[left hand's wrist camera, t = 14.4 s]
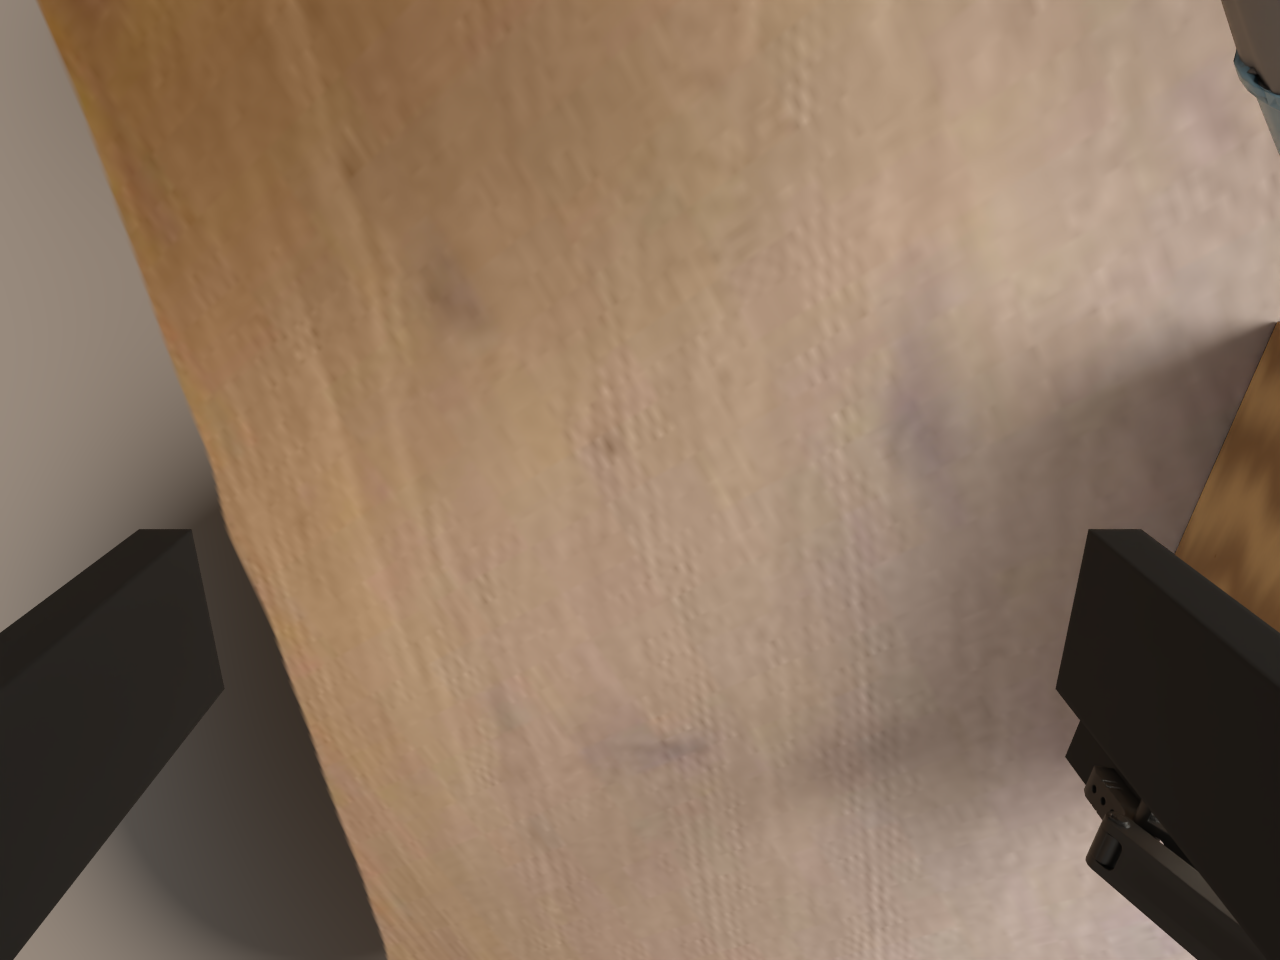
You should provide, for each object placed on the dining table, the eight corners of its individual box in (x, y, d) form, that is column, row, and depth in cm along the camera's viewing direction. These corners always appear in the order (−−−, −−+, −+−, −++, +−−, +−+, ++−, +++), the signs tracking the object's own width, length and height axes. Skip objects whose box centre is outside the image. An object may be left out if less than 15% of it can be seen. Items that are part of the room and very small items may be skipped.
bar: (1276, 320, 41) (1428, 359, 33) (1369, 337, 41) (1541, 380, 33) (1094, 733, 49) (1181, 842, 42) (1172, 745, 50) (1272, 855, 42)
